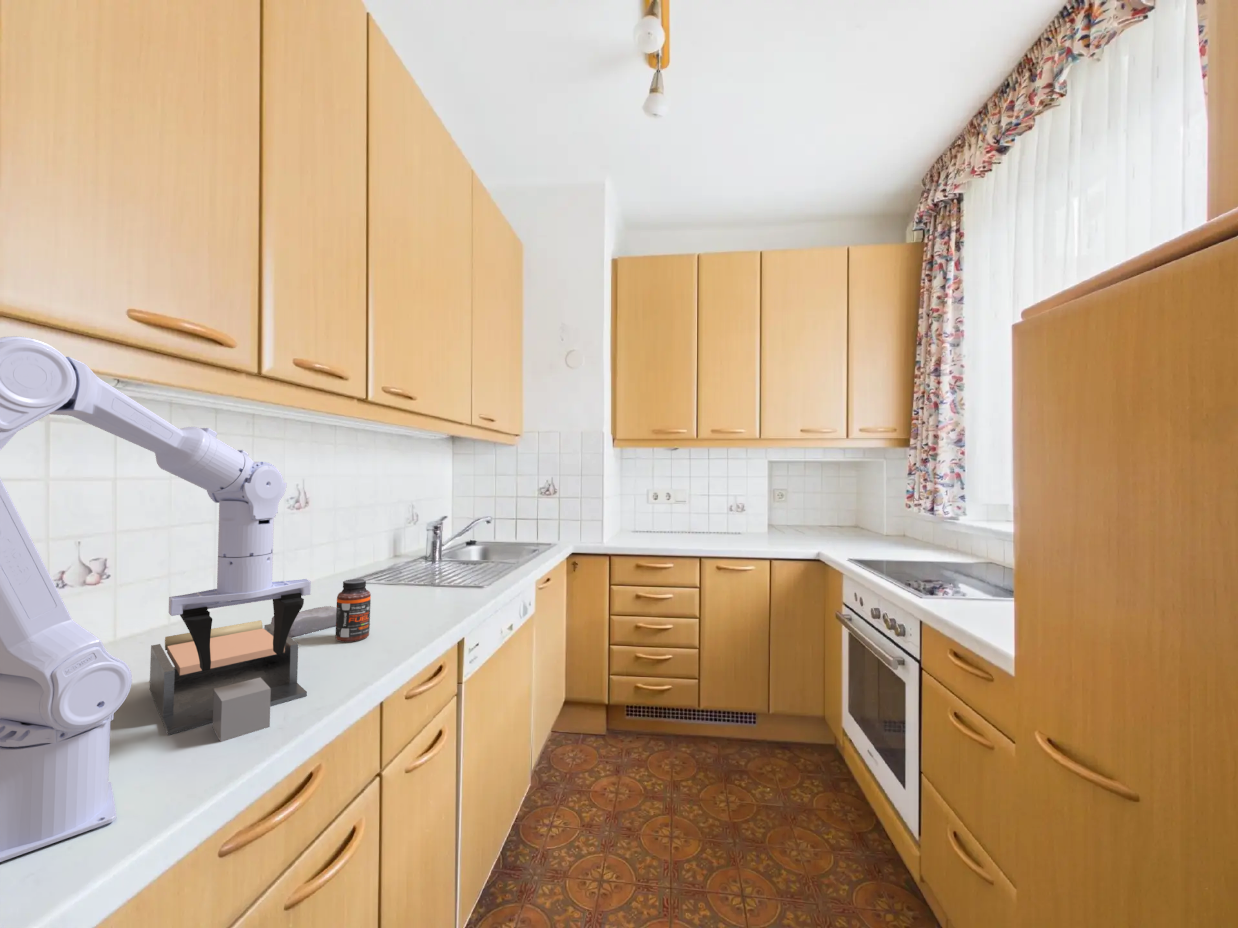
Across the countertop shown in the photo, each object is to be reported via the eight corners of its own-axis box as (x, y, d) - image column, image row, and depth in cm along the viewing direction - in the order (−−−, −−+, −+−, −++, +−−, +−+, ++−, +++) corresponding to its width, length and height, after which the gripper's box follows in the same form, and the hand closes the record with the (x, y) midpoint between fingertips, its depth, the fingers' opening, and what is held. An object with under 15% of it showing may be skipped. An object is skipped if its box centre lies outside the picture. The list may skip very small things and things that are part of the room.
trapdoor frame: (167, 735, 62) (169, 682, 62) (149, 689, 75) (150, 645, 75) (306, 695, 73) (307, 651, 73) (270, 661, 86) (271, 623, 86)
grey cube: (220, 742, 61) (221, 701, 61) (212, 728, 64) (213, 688, 64) (269, 727, 64) (270, 688, 65) (259, 714, 68) (260, 677, 68)
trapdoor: (179, 675, 67) (180, 660, 67) (164, 648, 76) (164, 635, 76) (284, 652, 76) (285, 638, 76) (259, 630, 85) (259, 619, 85)
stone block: (264, 640, 102) (291, 639, 98) (263, 616, 103) (290, 614, 98) (322, 627, 113) (349, 625, 108) (321, 606, 113) (348, 603, 109)
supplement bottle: (348, 645, 95) (350, 585, 95) (328, 640, 97) (329, 581, 98) (376, 636, 100) (377, 579, 100) (356, 631, 103) (357, 576, 103)
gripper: (300, 545, 73) (298, 639, 73) (166, 556, 62) (163, 667, 62) (316, 550, 68) (314, 651, 68) (175, 564, 57) (171, 684, 57)
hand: (243, 659), depth 64 cm, fingers open, 7 cm apart
